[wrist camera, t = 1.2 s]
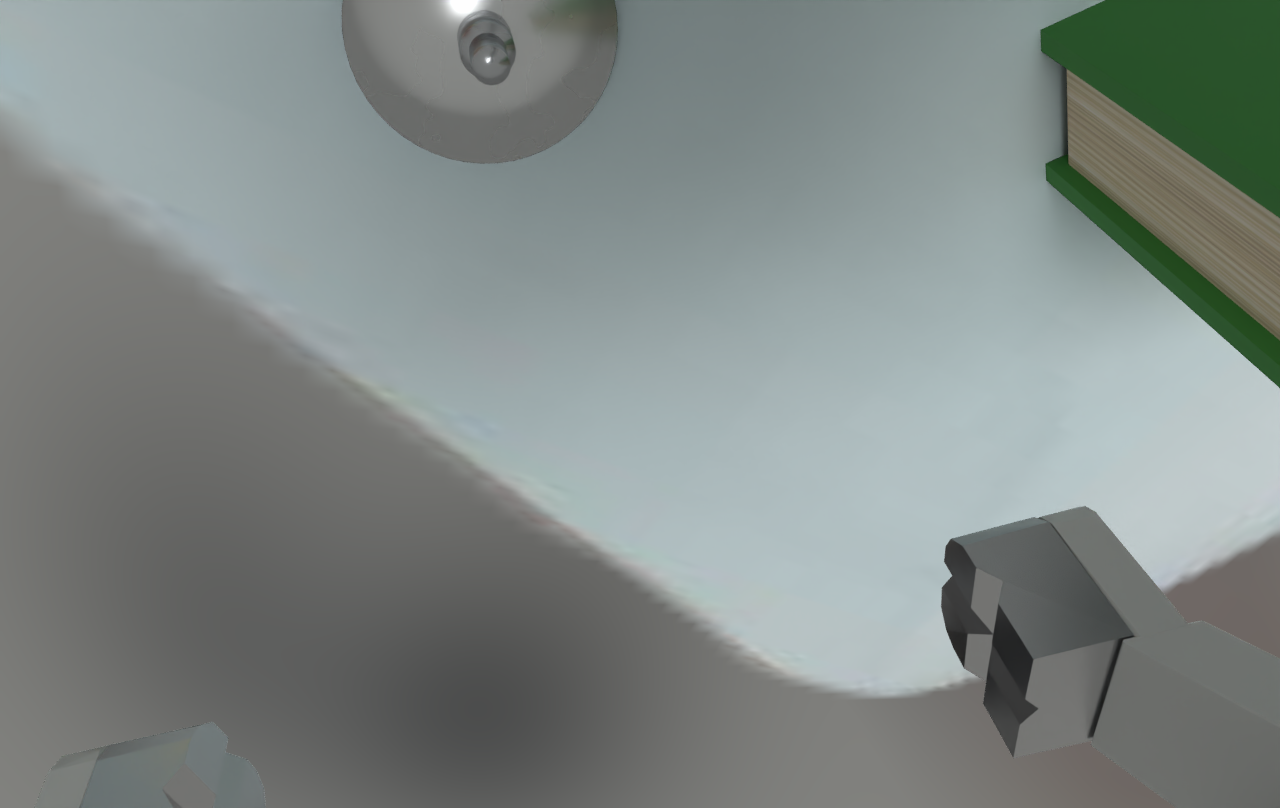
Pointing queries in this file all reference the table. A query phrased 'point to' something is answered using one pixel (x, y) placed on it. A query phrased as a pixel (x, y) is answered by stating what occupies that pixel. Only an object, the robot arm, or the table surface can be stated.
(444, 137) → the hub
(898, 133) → the table surface
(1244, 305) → the hardback book
